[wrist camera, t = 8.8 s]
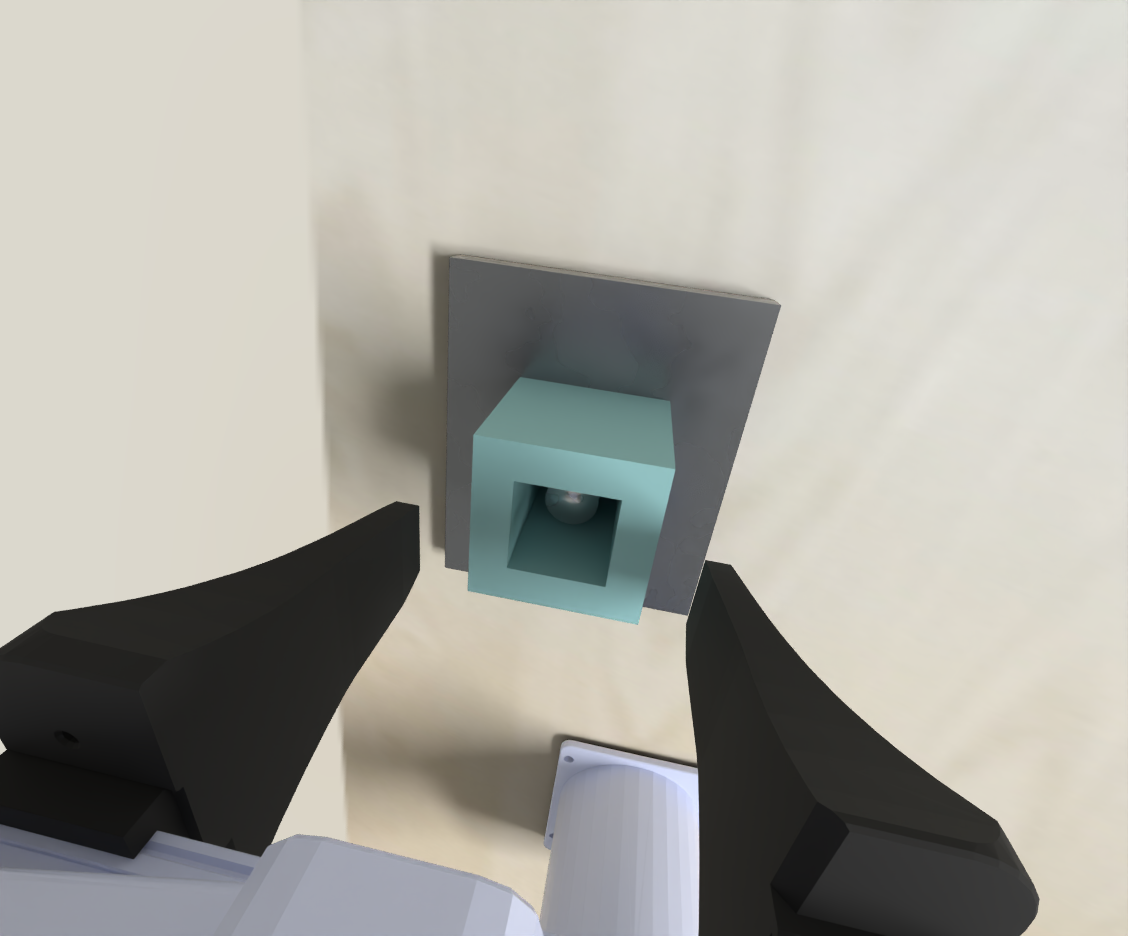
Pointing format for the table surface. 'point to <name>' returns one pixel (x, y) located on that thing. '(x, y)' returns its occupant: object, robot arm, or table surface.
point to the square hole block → (579, 464)
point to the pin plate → (607, 385)
